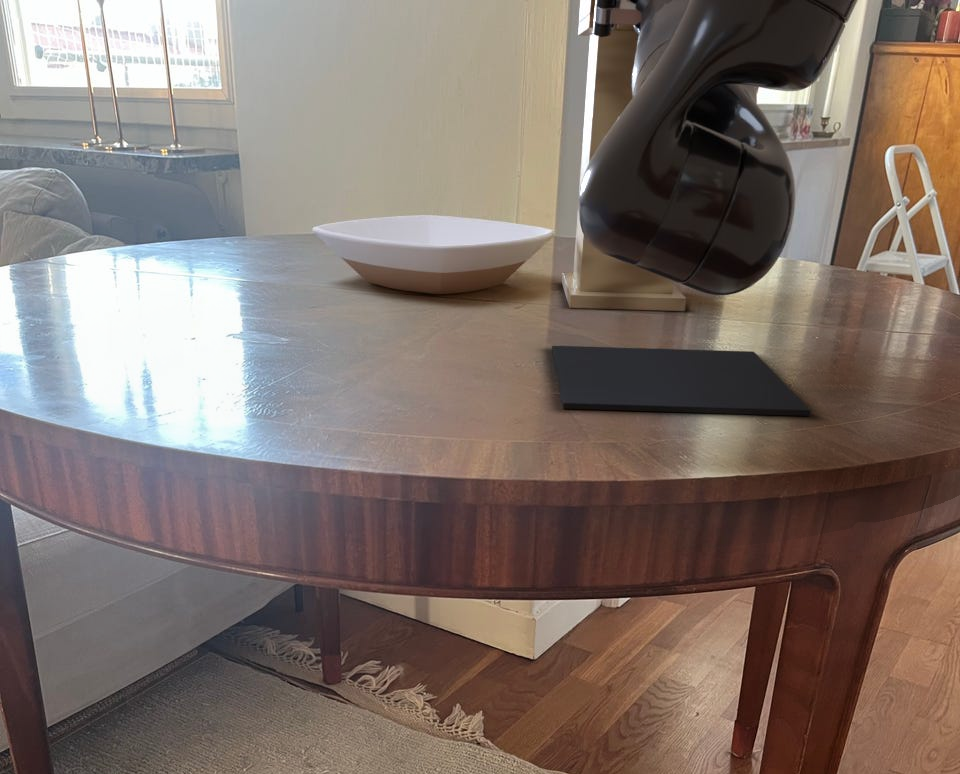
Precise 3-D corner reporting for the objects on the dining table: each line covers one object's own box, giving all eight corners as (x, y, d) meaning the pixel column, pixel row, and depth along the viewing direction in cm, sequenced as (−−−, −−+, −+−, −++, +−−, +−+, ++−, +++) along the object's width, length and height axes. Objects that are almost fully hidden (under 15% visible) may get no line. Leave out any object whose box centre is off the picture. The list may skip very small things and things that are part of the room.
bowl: (446, 311, 88) (446, 250, 85) (288, 281, 99) (284, 226, 96) (577, 283, 102) (581, 230, 100) (426, 260, 114) (426, 212, 111)
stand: (664, 286, 102) (698, -6, 89) (684, 311, 91) (727, -20, 78) (561, 283, 102) (580, -9, 89) (569, 307, 91) (592, -24, 78)
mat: (753, 356, 75) (754, 351, 75) (809, 416, 62) (810, 410, 61) (551, 350, 76) (552, 345, 75) (563, 408, 62) (563, 402, 61)
